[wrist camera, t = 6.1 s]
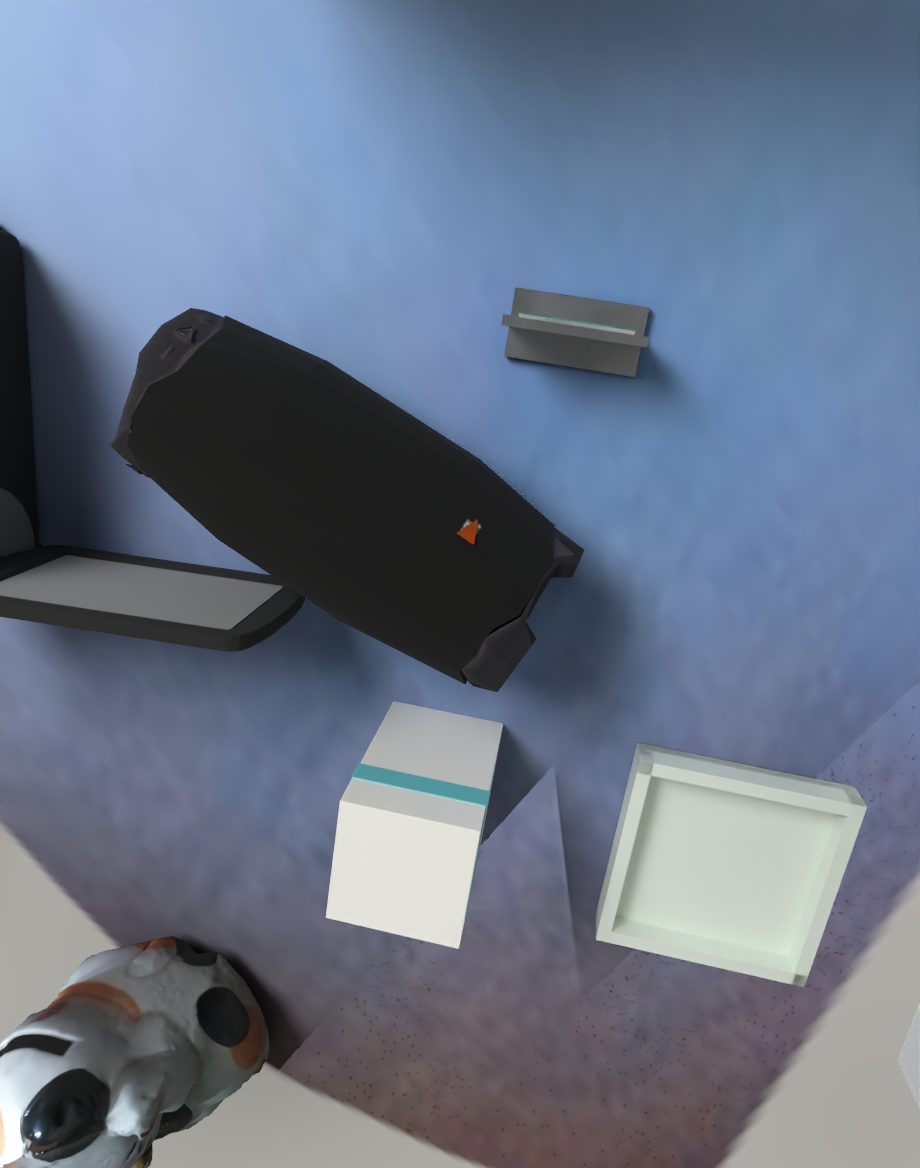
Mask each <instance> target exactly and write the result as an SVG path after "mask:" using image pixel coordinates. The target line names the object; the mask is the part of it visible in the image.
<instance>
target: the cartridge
mask: <svg viewBox="0 0 920 1168" xmlns="http://www.w3.org/2000/svg"><path fill="white" fill-rule="evenodd" d="M502 728H503V723H498V722H493V721H488V720H483V719H478V718H473V717H468V716H464V715H459V714H454V713H449V712H444V711H439V710H434V709H429V708H424V707H420V706H415V705H410V704H405V703H400V702H395V701H393V703H392V705H391V707H390V709H389V711H388V712H387V714H386V716H385V718H384V720H383V722H382V724H381V725H380V727H379V729H378V731H377V733H376V735H375V737H374V738H373V740H372V742H371V744H370V746H369V748H368V750H367V751H366V753H365V755H364V757H363V759H362V761H361V763H358V765H357V767H356V769H355V771H354V773H353V774H352V776H351V781H350V783H349V785H348V787H347V789H346V790H345V792H344V794H343V796H342V798H341V800H340V805H339V814H338V822H337V830H336V838H335V847H334V855H333V863H332V871H331V880H330V888H329V896H328V904H327V913H326V918H329V919H334V920H338V921H342V922H347V923H351V924H355V925H359V926H364V927H368V928H372V929H376V930H381V931H385V932H389V933H394V934H398V935H402V936H406V937H411V938H415V939H419V940H424V941H428V942H432V943H436V944H441V945H445V946H449V947H453V948H458V949H459V945H460V940H461V936H462V931H463V926H464V921H465V920H466V917H467V912H468V907H469V902H470V897H471V891H472V886H473V881H474V875H475V870H476V865H477V859H478V854H479V849H480V844H481V839H482V834H483V830H484V825H485V820H486V814H487V809H488V804H489V798H490V793H491V788H492V782H493V777H494V771H495V766H496V761H497V755H498V750H499V744H500V739H501V734H502Z"/></svg>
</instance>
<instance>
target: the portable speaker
mask: <svg viewBox="0 0 920 1168" xmlns="http://www.w3.org/2000/svg"><path fill="white" fill-rule="evenodd" d="M111 447H112V448H113V449H115V450H116V451H117V452H118V453H119V454H120V455H121V456H122V457H123V458H124V459H126V460H127V461H128V462H129V463H130V464H132V465H129V464H126V465H128V466H129V467H131V468H132V469H134V470H135V471H136V472H138V473H139V474H144V475H145V476H146V477H150V478H151V479H152V480H153V481H155V482H156V483H157V484H158V485H159V486H160V487H161V488H162V489H163V490H164V491H165V492H167V493H168V494H169V495H170V496H171V497H172V498H173V499H174V500H175V501H176V502H178V503H179V504H180V505H181V506H182V507H183V508H184V509H185V510H186V511H187V512H188V513H190V514H191V515H192V516H193V517H194V518H195V519H196V520H197V521H198V522H199V523H201V524H202V525H203V526H204V527H205V528H206V529H207V530H208V531H209V532H210V533H211V534H213V535H214V536H215V537H216V538H217V539H218V540H220V541H221V542H223V543H224V544H226V545H227V546H229V547H230V548H232V549H233V550H235V551H236V552H238V553H239V554H241V555H242V556H244V557H245V558H247V559H248V560H250V561H251V562H253V563H254V564H256V565H257V566H259V567H260V568H262V569H263V570H265V571H266V572H268V573H269V574H271V575H272V576H274V577H275V578H277V579H278V580H280V581H281V582H283V583H284V584H286V585H287V586H289V587H290V588H292V589H293V590H295V591H296V592H298V593H299V594H301V595H302V596H304V597H305V598H307V599H308V600H310V601H311V602H313V603H314V604H316V605H317V606H319V607H320V608H322V609H323V610H325V611H326V612H328V613H329V614H331V615H332V616H334V617H335V618H337V619H338V620H340V621H341V622H343V623H345V624H347V625H349V626H351V627H353V628H355V629H357V630H359V631H361V632H363V633H365V634H367V635H369V636H371V637H373V638H375V639H377V640H379V641H381V642H383V643H385V644H387V645H389V646H391V647H393V648H395V649H397V650H399V651H401V652H403V653H405V654H406V655H408V656H410V657H412V658H414V659H416V660H418V661H420V662H422V663H424V664H426V665H428V666H430V667H432V668H434V669H436V670H438V671H440V672H442V673H444V674H446V675H448V676H450V677H452V678H454V679H456V680H458V681H460V682H462V683H464V684H466V681H467V680H468V681H469V682H470V683H471V684H472V685H473V686H475V687H479V688H483V689H487V690H491V691H495V692H498V690H499V689H500V688H501V686H502V685H503V684H504V682H505V681H506V680H507V678H508V677H509V675H510V674H511V673H512V671H513V670H514V669H515V667H516V666H517V665H518V663H519V662H520V661H521V659H522V658H523V656H524V655H525V654H526V652H527V651H528V650H529V648H530V647H531V646H532V644H533V643H534V642H535V640H536V638H535V636H534V634H533V633H532V631H531V629H530V628H529V626H528V624H527V623H526V620H527V618H528V616H529V615H530V613H531V611H532V610H533V608H534V606H535V604H536V602H537V601H538V599H539V597H540V595H541V594H542V592H543V590H544V589H545V587H546V585H547V584H548V582H549V580H550V579H551V577H573V574H574V572H575V570H576V567H577V565H578V563H579V561H580V558H581V556H582V554H583V552H584V549H582V548H581V547H580V546H578V545H577V544H576V543H574V542H573V541H572V540H570V539H569V538H567V537H566V536H565V535H563V534H562V533H561V532H559V531H558V530H557V529H555V528H554V525H553V524H552V523H551V522H550V521H549V520H548V519H547V518H545V517H544V516H543V515H542V514H541V513H540V512H539V511H538V510H536V509H535V508H534V507H533V506H532V505H531V504H530V503H528V502H527V501H526V500H525V499H524V498H523V497H522V496H521V495H519V494H518V493H517V492H516V491H515V490H514V489H513V488H512V487H510V486H509V485H508V484H507V483H506V482H505V481H504V480H502V479H501V478H500V477H499V476H498V475H497V474H496V473H495V472H493V471H492V470H491V469H490V468H489V467H488V466H487V465H486V464H484V463H483V462H482V461H481V460H480V459H478V458H477V457H475V456H474V455H472V454H471V453H469V452H468V451H466V450H464V449H463V448H461V447H460V446H458V445H457V444H455V443H454V442H452V441H451V440H449V439H447V438H446V437H444V436H443V435H441V434H440V433H438V432H437V431H435V430H433V429H432V428H430V427H429V426H427V425H426V424H424V423H423V422H421V421H419V420H418V419H416V418H415V417H413V416H412V415H410V414H409V413H407V412H405V411H404V410H402V409H401V408H399V407H398V406H396V405H395V404H393V403H392V402H390V401H388V400H387V399H385V398H384V397H382V396H381V395H379V394H378V393H376V392H374V391H373V390H371V389H370V388H368V387H367V386H365V385H364V384H362V383H360V382H359V381H357V380H356V379H354V378H353V377H351V376H350V375H348V374H347V373H345V372H343V371H342V370H340V369H339V368H337V367H336V366H334V365H333V364H331V363H329V362H328V361H325V360H323V359H321V358H319V357H317V356H314V355H312V354H310V353H308V352H305V351H303V350H301V349H299V348H296V347H294V346H292V345H290V344H288V343H285V342H283V341H281V340H279V339H276V338H274V337H272V336H270V335H268V334H265V333H263V332H261V331H259V330H256V329H254V328H252V327H250V326H247V325H245V324H243V323H241V322H239V321H236V320H234V319H232V318H230V317H227V316H225V317H222V316H219V315H216V314H213V313H211V312H208V311H205V310H199V309H193V308H190V309H188V310H187V311H185V312H183V313H182V314H180V315H178V316H176V317H175V318H173V319H171V320H170V321H168V322H166V323H164V324H163V325H161V327H160V328H159V329H158V330H157V332H156V333H155V334H154V335H153V337H152V338H151V339H150V340H149V342H148V343H147V344H146V345H145V347H144V348H143V349H142V350H141V352H140V353H139V359H138V364H137V370H136V374H135V377H134V380H133V383H132V386H131V389H130V392H129V395H128V398H127V401H126V404H125V407H124V410H123V414H122V417H121V421H120V425H119V428H118V432H117V434H116V436H115V438H114V440H113V442H112V444H111Z"/></svg>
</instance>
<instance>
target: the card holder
mask: <svg viewBox="0 0 920 1168" xmlns="http://www.w3.org/2000/svg"><path fill="white" fill-rule="evenodd" d="M648 313H649V308H647V307H641V306H634V305H627V304H621V303H614V302H608V301H601V300H595V299H588V298H581V297H575V296H568V295H562V294H555V293H548V292H542V291H535V290H529V289H522V288H515V295H514V301H513V307H512V313H511V316H509V315H503V320H502V325H504V326H508V327H509V332H508V338H507V344H506V351H505V356H506V357H512V358H518V359H525V360H531V361H537V362H543V363H550V364H556V365H562V366H568V367H575V368H581V369H587V370H593V371H600V372H606V373H612V374H618V375H624V376H631V377H635V375H636V370H637V366H638V361H639V356H640V351H641V348H647V347H648V342H649V338H650V337H644V332H645V327H646V323H647V318H648Z"/></svg>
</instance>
